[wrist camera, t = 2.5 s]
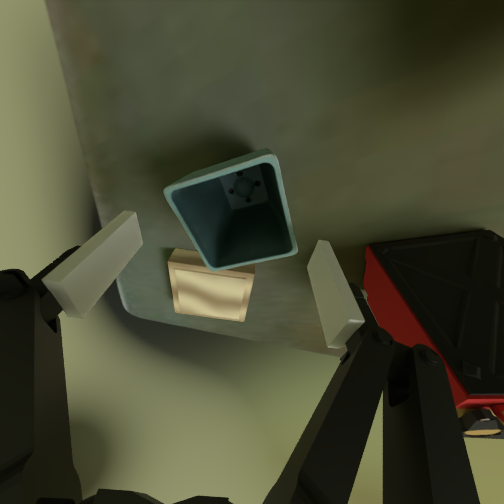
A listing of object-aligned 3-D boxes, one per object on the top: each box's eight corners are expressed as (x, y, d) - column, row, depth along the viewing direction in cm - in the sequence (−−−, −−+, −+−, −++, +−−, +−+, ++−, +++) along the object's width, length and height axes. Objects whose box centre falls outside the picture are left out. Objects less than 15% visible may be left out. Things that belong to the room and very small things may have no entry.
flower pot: (272, 130, 20) (276, 151, 13) (289, 209, 25) (299, 255, 18) (193, 158, 22) (159, 189, 15) (224, 225, 27) (209, 273, 20)
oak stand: (175, 248, 30) (166, 262, 27) (255, 260, 30) (254, 275, 28) (181, 298, 37) (174, 314, 35) (245, 307, 38) (243, 323, 35)
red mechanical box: (355, 291, 33) (434, 466, 18) (363, 242, 27) (493, 443, 12) (465, 281, 31) (672, 478, 15) (501, 224, 25) (913, 456, 9)
